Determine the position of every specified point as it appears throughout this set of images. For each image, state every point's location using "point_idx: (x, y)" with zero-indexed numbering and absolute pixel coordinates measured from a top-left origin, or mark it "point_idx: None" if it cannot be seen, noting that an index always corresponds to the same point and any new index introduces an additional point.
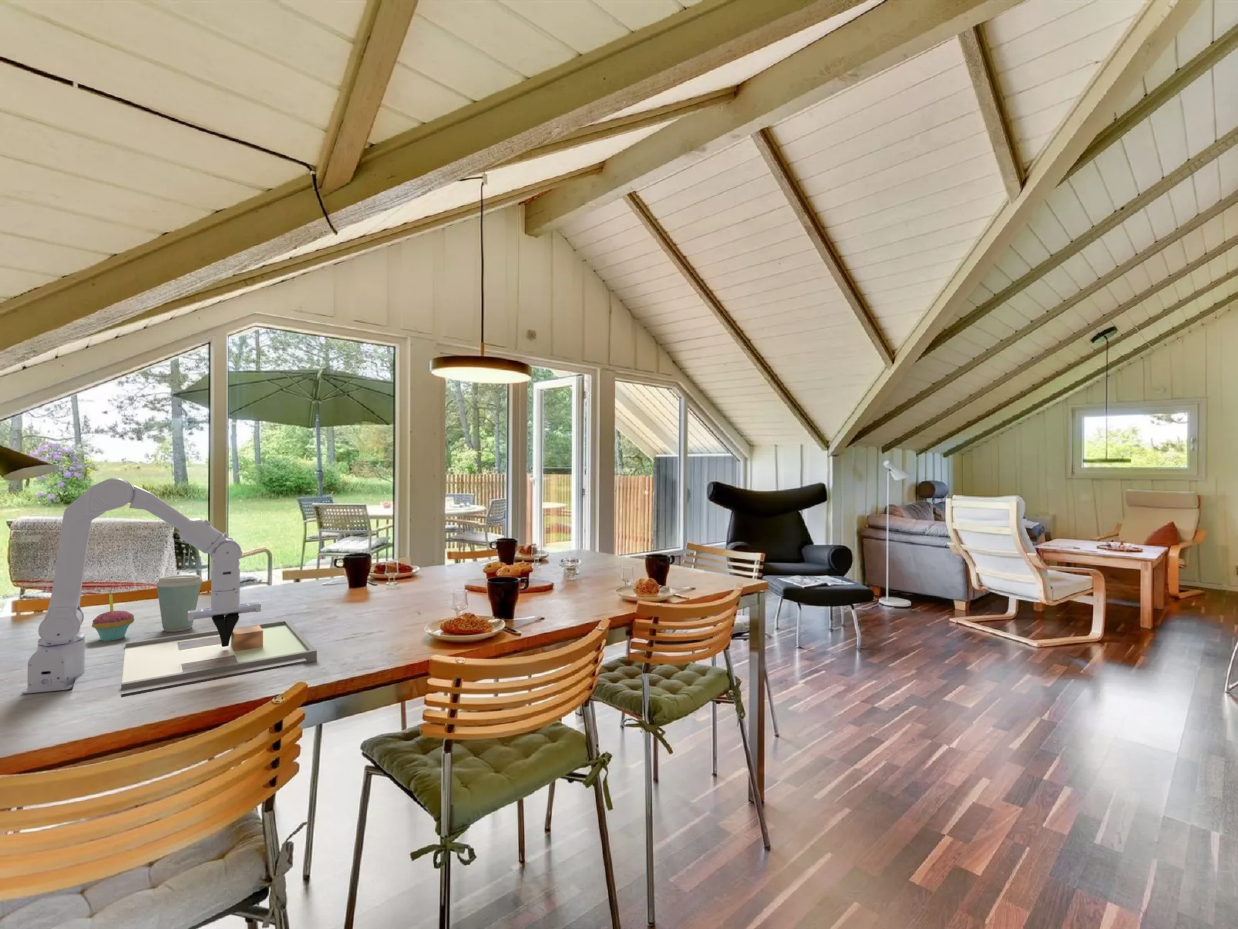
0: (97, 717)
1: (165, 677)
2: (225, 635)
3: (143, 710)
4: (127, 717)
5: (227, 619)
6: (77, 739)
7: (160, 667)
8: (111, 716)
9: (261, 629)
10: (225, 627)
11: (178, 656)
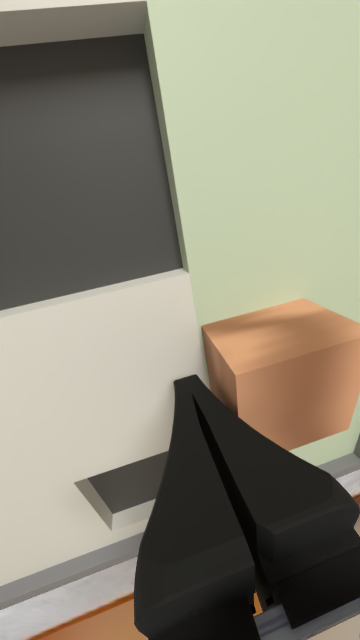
0: (30, 603)
1: (87, 573)
2: (202, 424)
3: (94, 583)
4: (81, 596)
5: (261, 606)
6: (49, 628)
7: (16, 503)
8: (53, 598)
9: (350, 413)
10: (216, 447)
11: (16, 418)
